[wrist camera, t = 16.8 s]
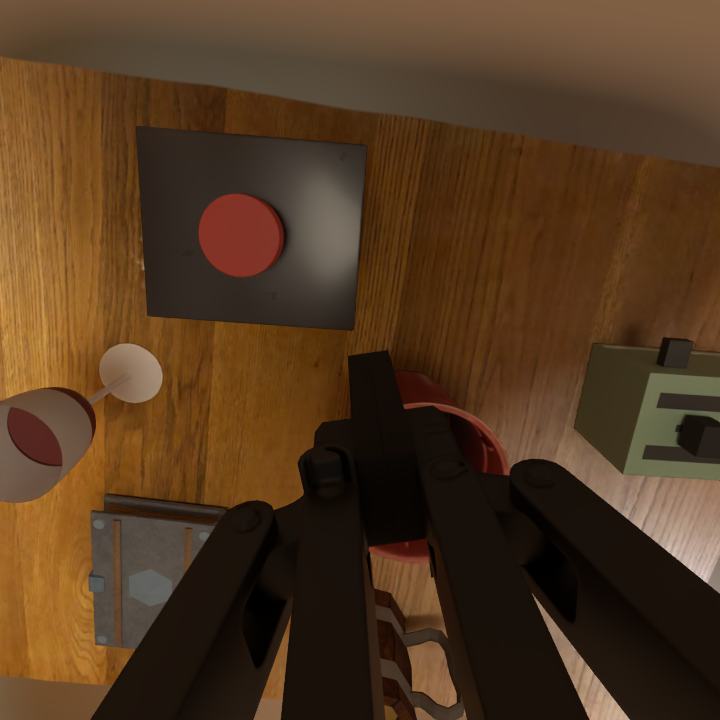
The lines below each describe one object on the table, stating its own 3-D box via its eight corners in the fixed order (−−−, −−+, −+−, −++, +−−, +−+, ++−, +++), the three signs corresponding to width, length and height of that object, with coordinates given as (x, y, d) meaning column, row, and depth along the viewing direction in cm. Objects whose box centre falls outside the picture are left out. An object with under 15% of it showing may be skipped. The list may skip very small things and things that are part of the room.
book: (223, 630, 66) (213, 662, 61) (108, 618, 65) (88, 650, 61) (232, 507, 60) (221, 531, 55) (105, 492, 59) (82, 516, 55)
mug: (316, 660, 68) (305, 777, 53) (307, 586, 64) (293, 692, 50) (448, 653, 68) (473, 769, 53) (447, 578, 64) (474, 682, 49)
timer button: (285, 198, 23) (280, 196, 22) (283, 277, 24) (278, 280, 23) (206, 191, 23) (196, 190, 22) (207, 271, 24) (199, 274, 23)
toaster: (732, 329, 53) (825, 356, 43) (698, 436, 57) (775, 484, 47) (598, 320, 53) (658, 344, 42) (573, 428, 57) (622, 474, 46)
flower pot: (481, 359, 54) (530, 414, 39) (457, 480, 59) (491, 571, 44) (344, 344, 54) (338, 393, 38) (330, 467, 58) (321, 555, 43)
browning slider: (710, 416, 44) (730, 428, 42) (700, 445, 45) (720, 458, 43) (685, 414, 44) (705, 426, 42) (676, 444, 45) (695, 457, 43)
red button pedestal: (362, 183, 49) (367, 142, 24) (355, 278, 52) (354, 331, 27) (249, 174, 48) (134, 123, 23) (249, 270, 51) (146, 316, 26)
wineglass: (178, 366, 54) (82, 445, 35) (140, 418, 56) (29, 520, 37) (120, 325, 53) (-14, 384, 34) (83, 381, 55) (-63, 466, 36)
